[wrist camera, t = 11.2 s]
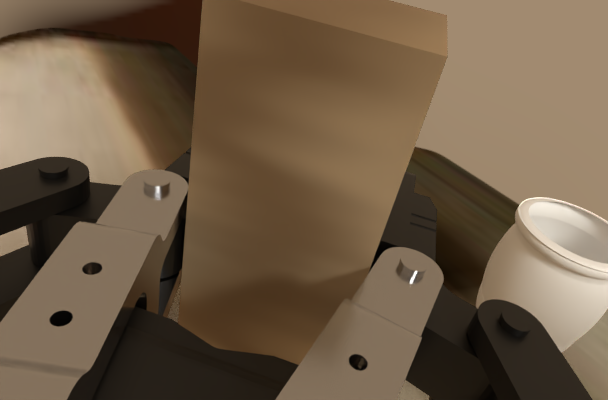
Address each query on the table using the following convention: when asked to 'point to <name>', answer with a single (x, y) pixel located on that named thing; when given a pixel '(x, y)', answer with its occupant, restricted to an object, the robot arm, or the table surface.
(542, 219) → the jar
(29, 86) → the table surface
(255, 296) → the peg
